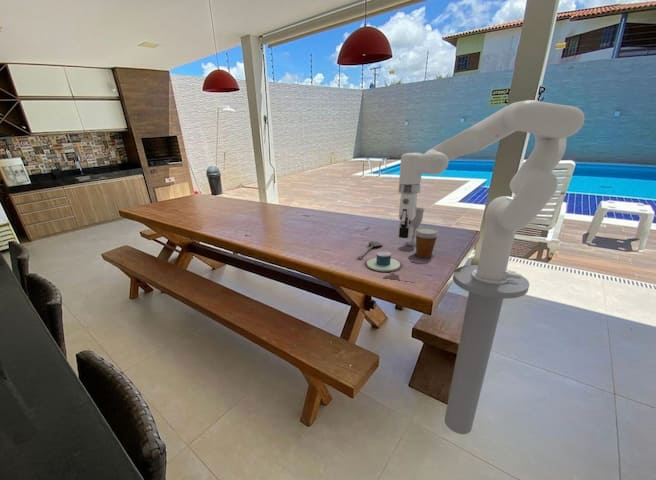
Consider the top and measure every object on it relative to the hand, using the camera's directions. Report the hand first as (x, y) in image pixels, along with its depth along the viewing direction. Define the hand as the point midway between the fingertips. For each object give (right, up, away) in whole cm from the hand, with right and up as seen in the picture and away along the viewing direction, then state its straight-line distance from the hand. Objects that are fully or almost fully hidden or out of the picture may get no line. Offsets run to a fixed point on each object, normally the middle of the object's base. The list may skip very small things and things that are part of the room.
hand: (404, 234), depth 120 cm
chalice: (+16, -2, +33) cm, 36 cm away
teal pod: (-5, -11, +12) cm, 17 cm away
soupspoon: (-8, -5, +27) cm, 29 cm away
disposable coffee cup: (+15, -7, +19) cm, 26 cm away
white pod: (0, 0, 0) cm, 0 cm away
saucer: (-5, -12, +12) cm, 18 cm away
